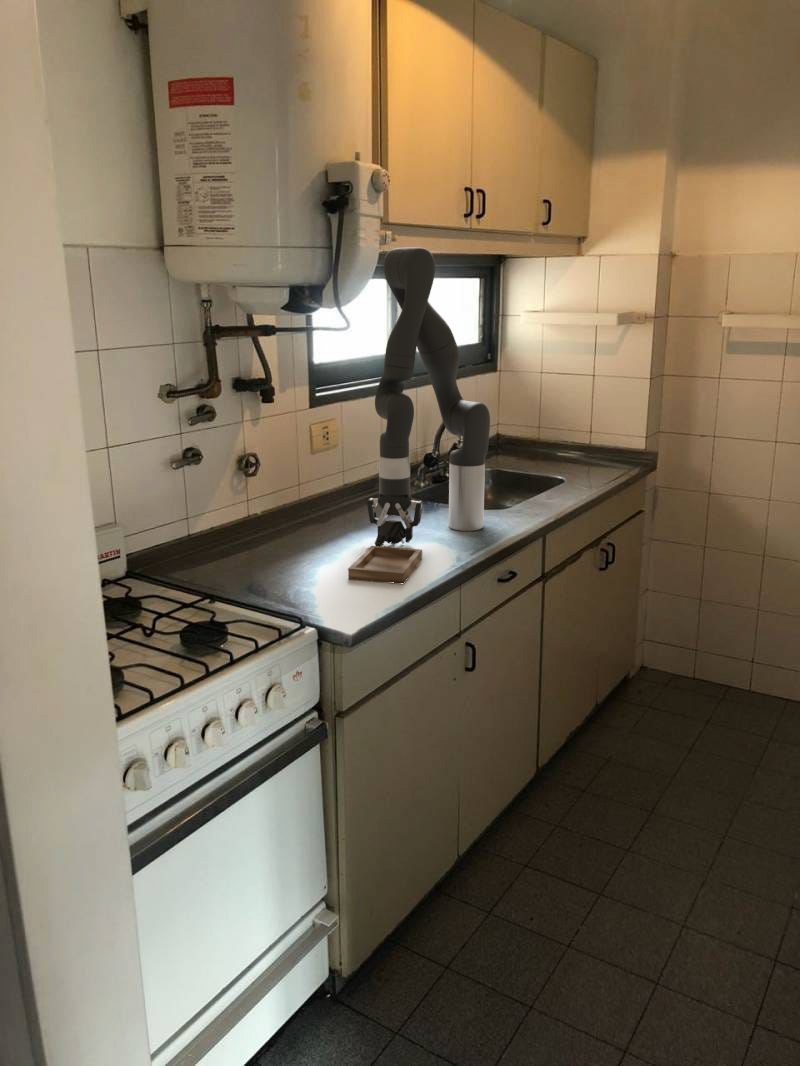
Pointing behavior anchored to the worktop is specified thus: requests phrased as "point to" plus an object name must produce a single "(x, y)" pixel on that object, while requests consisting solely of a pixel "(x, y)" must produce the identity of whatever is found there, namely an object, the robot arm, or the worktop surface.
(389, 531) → the power plug
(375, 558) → the brown tray
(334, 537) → the worktop surface
